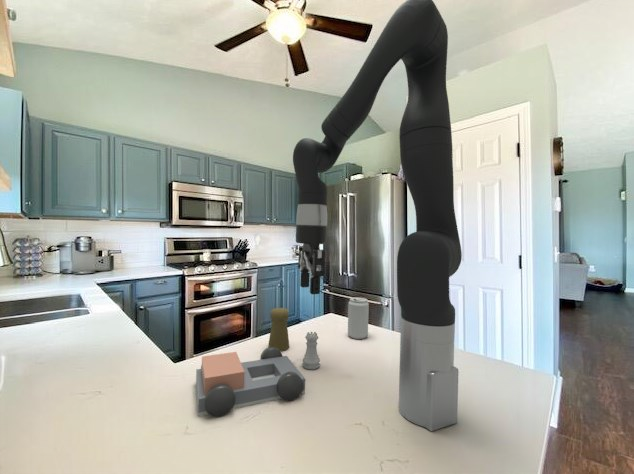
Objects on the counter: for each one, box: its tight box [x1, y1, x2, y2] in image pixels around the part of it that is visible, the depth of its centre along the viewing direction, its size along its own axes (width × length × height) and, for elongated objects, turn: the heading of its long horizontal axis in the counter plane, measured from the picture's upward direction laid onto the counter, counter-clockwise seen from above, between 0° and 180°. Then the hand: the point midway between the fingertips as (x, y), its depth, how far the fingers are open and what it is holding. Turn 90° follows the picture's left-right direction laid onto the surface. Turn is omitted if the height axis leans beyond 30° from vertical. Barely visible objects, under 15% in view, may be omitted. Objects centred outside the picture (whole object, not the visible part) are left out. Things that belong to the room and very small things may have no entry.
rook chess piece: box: [301, 331, 321, 371], centre depth 72 cm, size 4×4×8 cm
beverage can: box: [347, 296, 370, 340], centre depth 94 cm, size 6×6×12 cm
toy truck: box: [195, 347, 306, 418], centre depth 61 cm, size 15×20×6 cm
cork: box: [267, 307, 290, 353], centre depth 83 cm, size 6×6×11 cm
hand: (309, 290), depth 72 cm, fingers open, 8 cm apart
